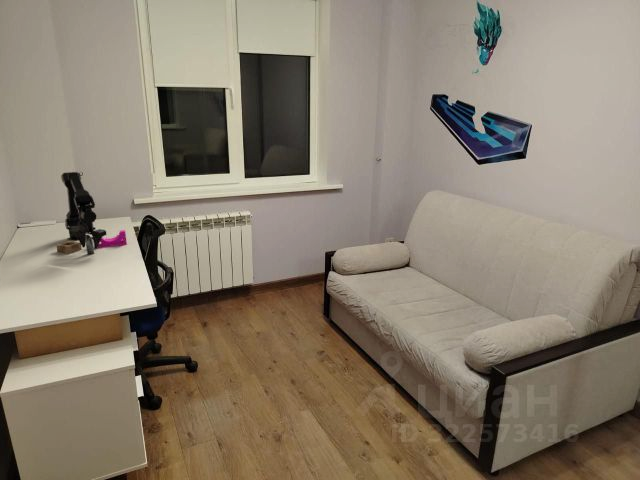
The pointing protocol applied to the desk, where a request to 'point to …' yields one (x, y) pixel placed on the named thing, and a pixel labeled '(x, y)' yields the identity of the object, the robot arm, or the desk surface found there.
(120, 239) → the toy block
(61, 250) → the brown square frame
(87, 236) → the metal canister
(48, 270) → the desk surface
